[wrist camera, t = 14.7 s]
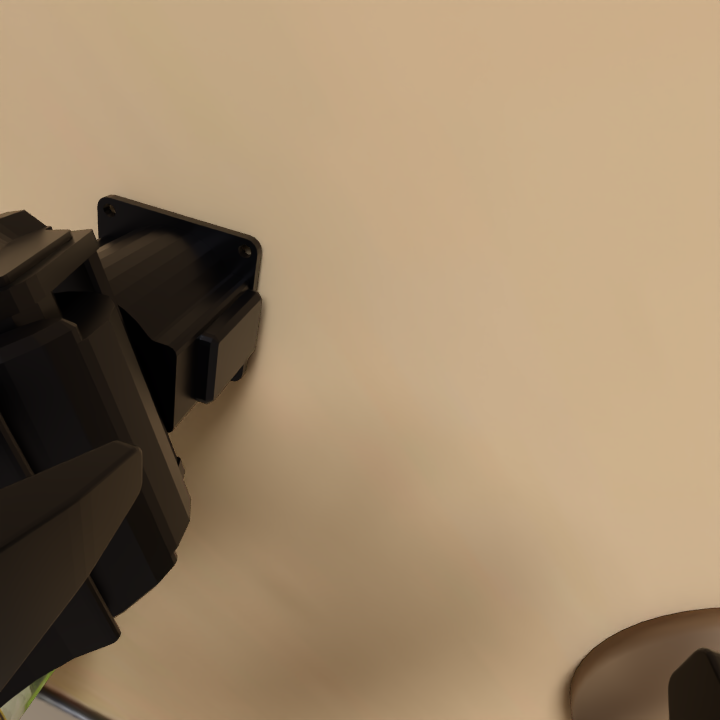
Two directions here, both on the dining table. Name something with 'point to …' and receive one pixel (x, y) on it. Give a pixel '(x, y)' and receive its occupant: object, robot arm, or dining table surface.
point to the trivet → (640, 667)
